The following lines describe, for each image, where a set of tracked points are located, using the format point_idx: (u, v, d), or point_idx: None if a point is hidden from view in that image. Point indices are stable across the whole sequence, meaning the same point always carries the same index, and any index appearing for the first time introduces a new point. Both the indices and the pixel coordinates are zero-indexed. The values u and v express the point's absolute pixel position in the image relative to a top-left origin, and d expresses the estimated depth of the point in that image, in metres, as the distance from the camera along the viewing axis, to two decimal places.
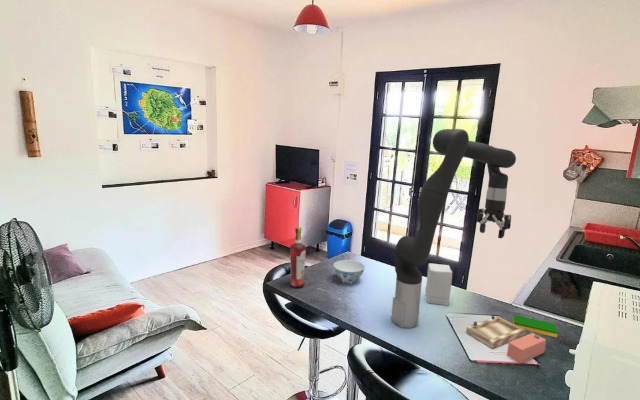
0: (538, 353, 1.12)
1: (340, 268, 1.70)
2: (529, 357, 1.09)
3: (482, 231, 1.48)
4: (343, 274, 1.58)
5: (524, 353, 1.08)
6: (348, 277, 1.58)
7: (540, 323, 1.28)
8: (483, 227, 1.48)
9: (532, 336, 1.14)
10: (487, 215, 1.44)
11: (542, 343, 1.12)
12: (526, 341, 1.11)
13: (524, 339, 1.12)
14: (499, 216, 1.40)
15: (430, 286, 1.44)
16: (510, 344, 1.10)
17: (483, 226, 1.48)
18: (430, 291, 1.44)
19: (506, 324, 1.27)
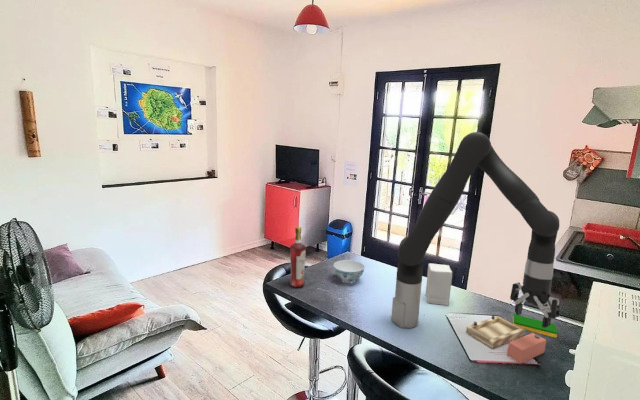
0: (538, 353, 1.12)
1: (340, 268, 1.70)
2: (529, 357, 1.10)
3: (518, 313, 1.13)
4: (343, 274, 1.58)
5: (524, 353, 1.08)
6: (348, 277, 1.58)
7: (540, 323, 1.28)
8: (520, 308, 1.13)
9: (532, 336, 1.14)
10: (526, 295, 1.09)
11: (542, 343, 1.12)
12: (526, 341, 1.11)
13: (524, 339, 1.12)
14: (544, 299, 1.05)
15: (430, 286, 1.44)
16: (511, 344, 1.10)
17: (520, 307, 1.13)
18: (430, 291, 1.44)
19: (506, 324, 1.27)
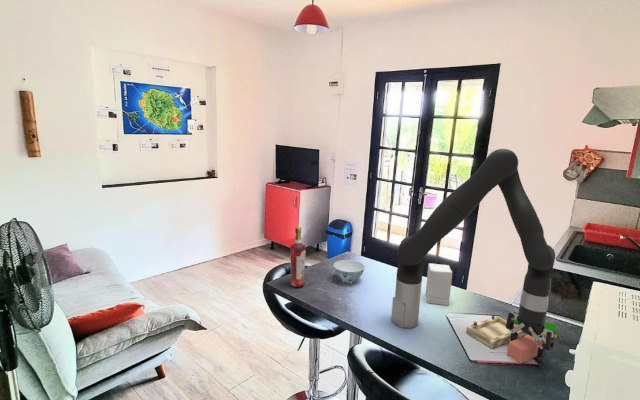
0: None
1: (340, 268, 1.70)
2: (529, 357, 1.10)
3: None
4: (343, 274, 1.58)
5: (524, 353, 1.08)
6: (348, 277, 1.58)
7: None
8: (515, 337, 1.15)
9: None
10: (521, 325, 1.11)
11: None
12: (526, 341, 1.11)
13: (524, 339, 1.12)
14: (538, 331, 1.07)
15: (430, 286, 1.44)
16: (511, 344, 1.10)
17: (515, 336, 1.15)
18: (430, 291, 1.44)
19: None
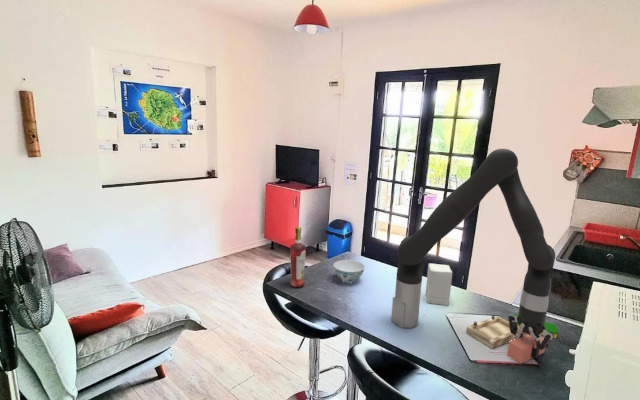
0: None
1: (340, 268, 1.70)
2: (529, 356, 1.09)
3: None
4: (343, 274, 1.58)
5: (524, 353, 1.07)
6: (348, 277, 1.58)
7: None
8: None
9: None
10: (522, 326, 1.11)
11: None
12: (526, 340, 1.11)
13: (524, 338, 1.12)
14: (538, 332, 1.07)
15: (430, 286, 1.44)
16: (511, 343, 1.10)
17: None
18: (430, 291, 1.44)
19: (506, 324, 1.27)
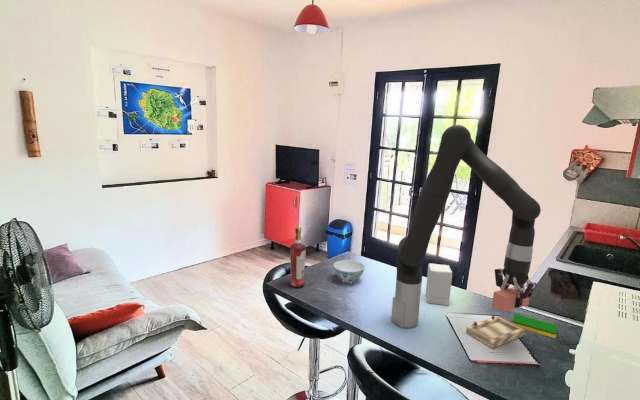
0: (522, 304, 1.15)
1: (340, 268, 1.70)
2: (513, 306, 1.13)
3: None
4: (343, 274, 1.58)
5: (508, 301, 1.11)
6: (348, 277, 1.58)
7: (540, 323, 1.28)
8: None
9: None
10: (507, 277, 1.15)
11: None
12: (511, 291, 1.15)
13: (509, 290, 1.16)
14: (521, 282, 1.11)
15: (430, 286, 1.44)
16: (495, 293, 1.14)
17: None
18: (430, 291, 1.44)
19: (506, 324, 1.27)
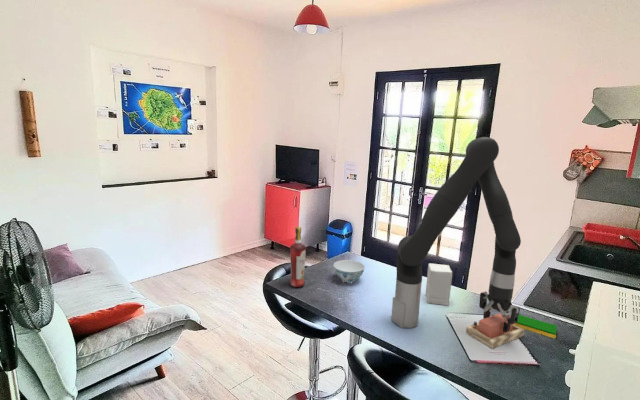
0: None
1: (340, 268, 1.70)
2: (498, 333, 1.20)
3: None
4: (343, 274, 1.58)
5: (492, 329, 1.18)
6: (348, 277, 1.58)
7: (540, 324, 1.28)
8: (487, 315, 1.25)
9: (501, 315, 1.25)
10: (491, 302, 1.21)
11: None
12: (495, 319, 1.22)
13: (494, 317, 1.23)
14: (505, 307, 1.18)
15: (430, 286, 1.44)
16: (481, 321, 1.21)
17: (487, 314, 1.25)
18: (430, 291, 1.44)
19: None
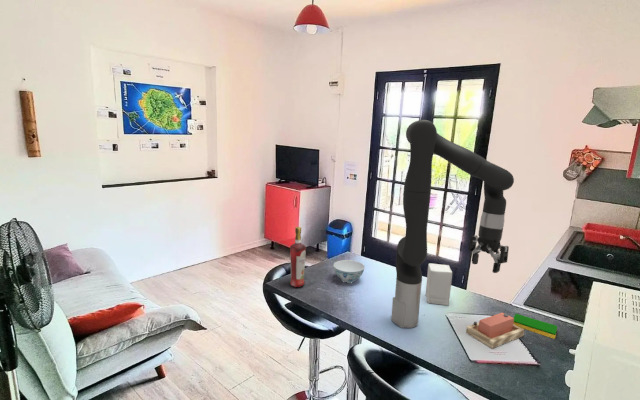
0: (506, 330, 1.22)
1: (340, 268, 1.70)
2: (498, 333, 1.20)
3: (474, 262, 1.27)
4: (343, 274, 1.58)
5: (492, 329, 1.18)
6: (348, 277, 1.58)
7: (540, 324, 1.27)
8: (476, 258, 1.27)
9: (501, 315, 1.25)
10: (480, 244, 1.23)
11: (510, 321, 1.22)
12: (495, 319, 1.22)
13: (494, 317, 1.23)
14: (494, 247, 1.19)
15: (430, 286, 1.44)
16: (481, 321, 1.21)
17: (476, 256, 1.26)
18: (430, 291, 1.44)
19: None
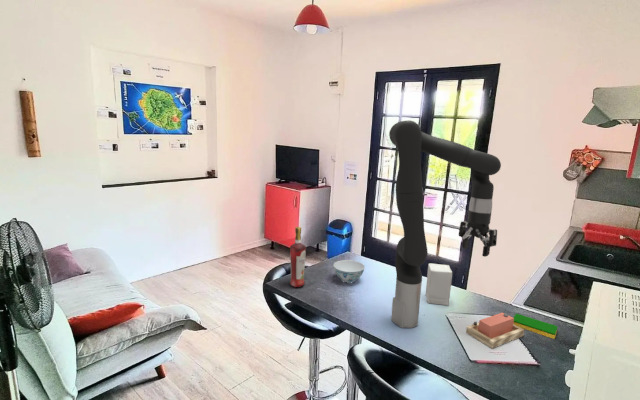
0: (506, 330, 1.22)
1: (340, 268, 1.70)
2: (498, 333, 1.20)
3: (465, 247, 1.29)
4: (343, 274, 1.58)
5: (492, 329, 1.18)
6: (348, 277, 1.58)
7: (540, 324, 1.27)
8: (466, 243, 1.29)
9: (501, 315, 1.25)
10: (470, 229, 1.25)
11: (510, 321, 1.22)
12: (495, 319, 1.22)
13: (494, 317, 1.23)
14: (483, 231, 1.21)
15: (430, 286, 1.44)
16: (481, 321, 1.21)
17: (466, 241, 1.29)
18: (430, 291, 1.44)
19: None
